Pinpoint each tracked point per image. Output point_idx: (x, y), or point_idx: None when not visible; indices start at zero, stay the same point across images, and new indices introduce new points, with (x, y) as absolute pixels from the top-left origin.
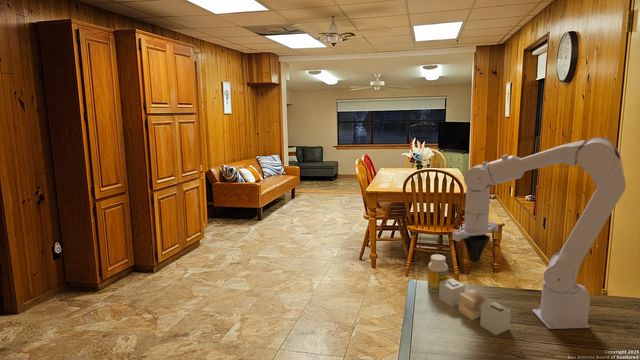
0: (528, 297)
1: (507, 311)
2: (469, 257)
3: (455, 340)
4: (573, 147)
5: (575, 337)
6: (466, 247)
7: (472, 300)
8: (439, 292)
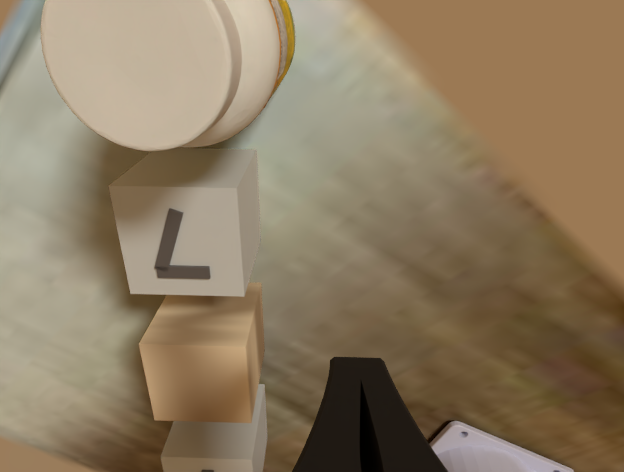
0: (563, 355)
1: None
2: (328, 381)
3: (37, 395)
4: None
5: None
6: (294, 467)
7: (158, 413)
8: (140, 162)
